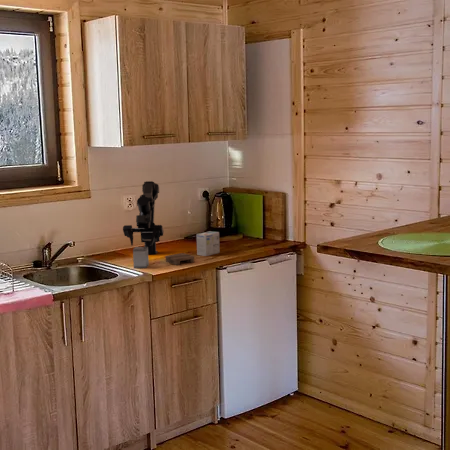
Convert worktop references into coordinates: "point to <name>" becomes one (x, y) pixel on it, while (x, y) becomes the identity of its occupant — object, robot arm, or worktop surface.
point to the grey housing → (140, 257)
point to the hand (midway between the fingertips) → (141, 245)
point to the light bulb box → (208, 243)
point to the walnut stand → (179, 258)
